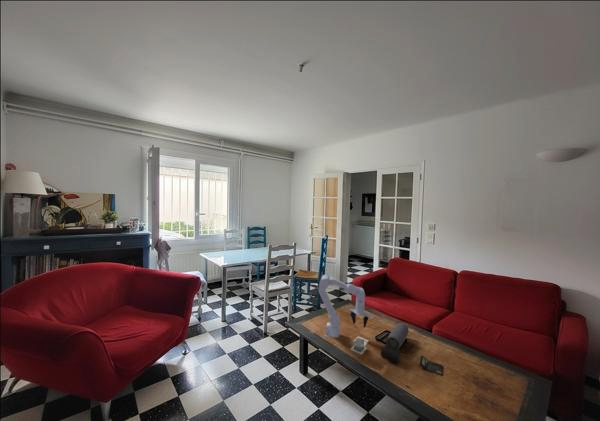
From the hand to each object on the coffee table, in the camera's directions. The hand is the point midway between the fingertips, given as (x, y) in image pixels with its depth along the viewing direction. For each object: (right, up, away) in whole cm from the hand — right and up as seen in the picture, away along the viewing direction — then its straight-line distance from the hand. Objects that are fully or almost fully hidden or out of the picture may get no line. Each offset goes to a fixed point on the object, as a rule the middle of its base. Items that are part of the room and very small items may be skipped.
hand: (359, 324), depth 170 cm
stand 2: (-4, -11, -12) cm, 17 cm away
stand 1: (0, -11, -4) cm, 11 cm away
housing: (-3, -10, -12) cm, 16 cm away
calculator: (+36, -13, -26) cm, 46 cm away
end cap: (+14, -12, -20) cm, 27 cm away
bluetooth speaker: (+25, -11, -3) cm, 28 cm away
